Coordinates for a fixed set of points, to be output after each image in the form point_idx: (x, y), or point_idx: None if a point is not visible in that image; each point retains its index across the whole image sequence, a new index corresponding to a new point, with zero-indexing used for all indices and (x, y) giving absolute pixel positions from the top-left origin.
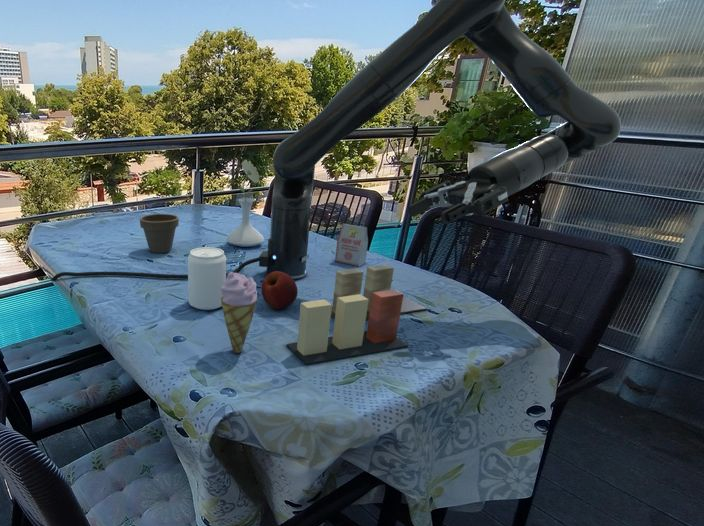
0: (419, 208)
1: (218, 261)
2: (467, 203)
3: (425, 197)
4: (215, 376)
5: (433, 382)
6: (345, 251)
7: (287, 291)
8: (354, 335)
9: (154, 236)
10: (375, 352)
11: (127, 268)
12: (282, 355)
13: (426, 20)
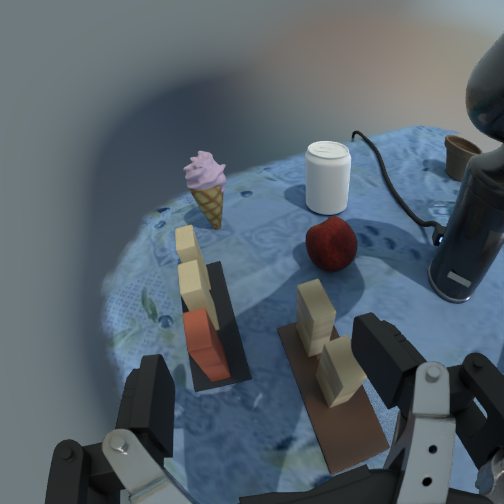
0: (369, 359)
1: (312, 160)
2: (107, 437)
3: (420, 368)
4: (181, 217)
5: (121, 376)
6: None
7: (310, 246)
8: None
9: (447, 154)
10: None
11: (398, 158)
12: None
13: None
